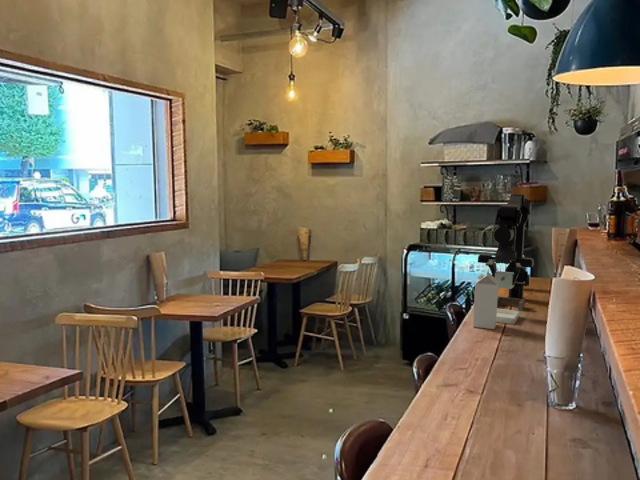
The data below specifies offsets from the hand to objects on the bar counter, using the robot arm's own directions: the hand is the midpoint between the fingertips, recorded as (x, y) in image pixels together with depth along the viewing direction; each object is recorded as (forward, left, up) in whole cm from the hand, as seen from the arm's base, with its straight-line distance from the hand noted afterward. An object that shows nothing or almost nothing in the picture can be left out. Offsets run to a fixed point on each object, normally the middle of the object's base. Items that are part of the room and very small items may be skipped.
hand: (504, 284), depth 219 cm
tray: (+4, 0, -12) cm, 12 cm away
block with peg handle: (+1, 0, -1) cm, 1 cm away
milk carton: (+18, -3, -12) cm, 21 cm away
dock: (-15, 0, -12) cm, 19 cm away
